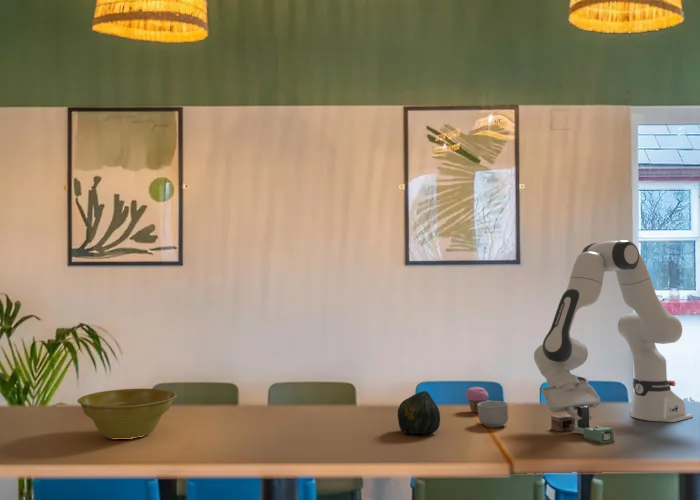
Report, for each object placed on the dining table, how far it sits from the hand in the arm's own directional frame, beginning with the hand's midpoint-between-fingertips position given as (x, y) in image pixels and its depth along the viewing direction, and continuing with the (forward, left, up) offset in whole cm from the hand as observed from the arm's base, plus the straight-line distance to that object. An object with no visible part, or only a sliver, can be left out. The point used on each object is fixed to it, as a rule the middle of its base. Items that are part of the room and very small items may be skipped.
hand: (584, 419), depth 213 cm
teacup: (+18, -26, -6) cm, 32 cm away
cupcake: (+11, -46, -6) cm, 48 cm away
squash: (+48, -27, -6) cm, 56 cm away
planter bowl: (+140, -66, -6) cm, 155 cm away
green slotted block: (0, +6, -5) cm, 8 cm away
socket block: (0, -10, -5) cm, 12 cm away
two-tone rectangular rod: (0, +2, -4) cm, 5 cm away
